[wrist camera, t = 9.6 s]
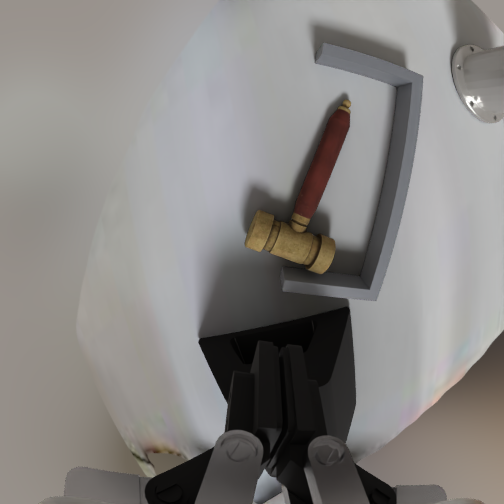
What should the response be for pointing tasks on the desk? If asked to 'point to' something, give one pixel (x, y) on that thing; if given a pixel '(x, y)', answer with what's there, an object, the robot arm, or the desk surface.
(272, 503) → the white stepped block
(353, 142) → the desk surface
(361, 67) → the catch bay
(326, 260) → the gavel
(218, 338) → the device stand
